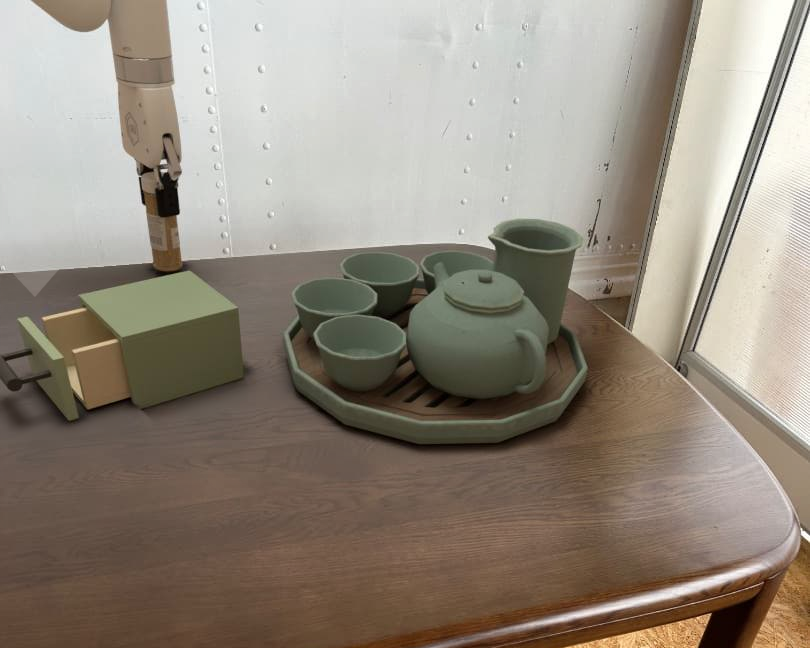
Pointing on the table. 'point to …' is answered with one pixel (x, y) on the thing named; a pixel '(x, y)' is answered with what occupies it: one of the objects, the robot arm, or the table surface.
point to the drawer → (71, 361)
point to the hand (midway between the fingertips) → (160, 208)
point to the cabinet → (171, 335)
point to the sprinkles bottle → (161, 229)
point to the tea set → (443, 339)
